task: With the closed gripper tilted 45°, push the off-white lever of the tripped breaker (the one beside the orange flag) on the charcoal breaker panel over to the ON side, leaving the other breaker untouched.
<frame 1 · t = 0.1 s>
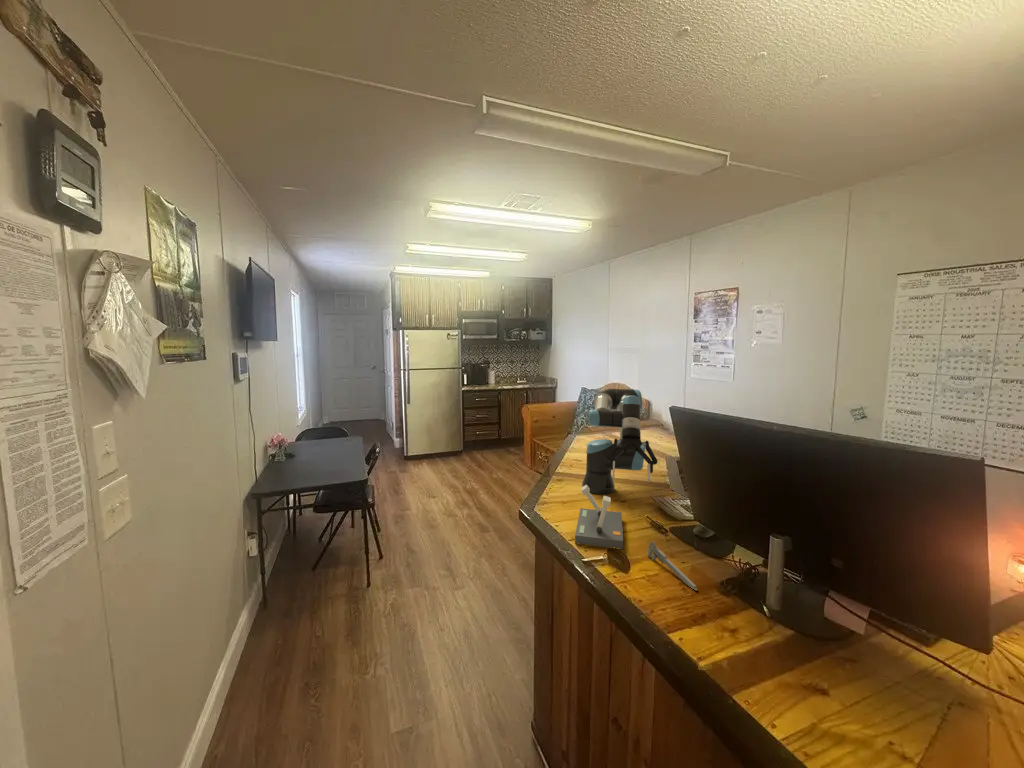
hand: (631, 479, 162), 15 cm above the worktop, tool tilted 35°, fingers open, 13 cm apart
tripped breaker: (602, 514, 143), point 9 cm above the worktop, hinge at -12.0°
caliper: (671, 574, 124), on the worktop
panel: (599, 530, 151), on the worktop
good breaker: (592, 500, 158), point 8 cm above the worktop, hinge at 35.0°
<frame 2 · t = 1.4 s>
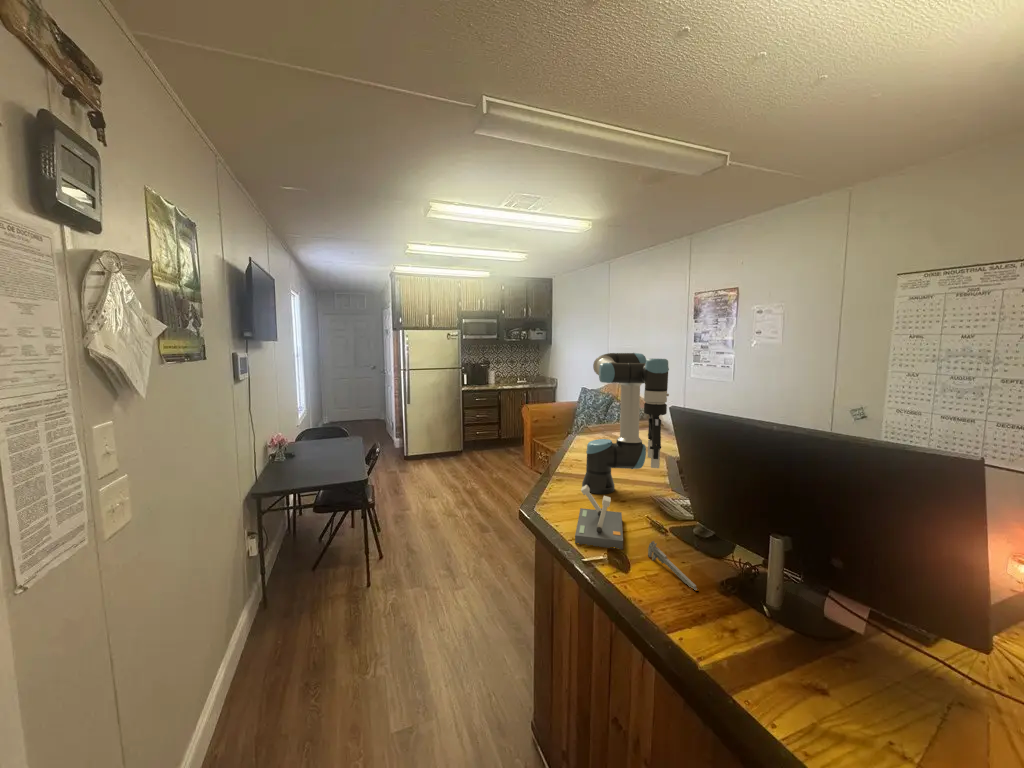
hand: (653, 462, 144), 27 cm above the worktop, tool pointing down, fingers open, 13 cm apart
nothing on the worktop moved.
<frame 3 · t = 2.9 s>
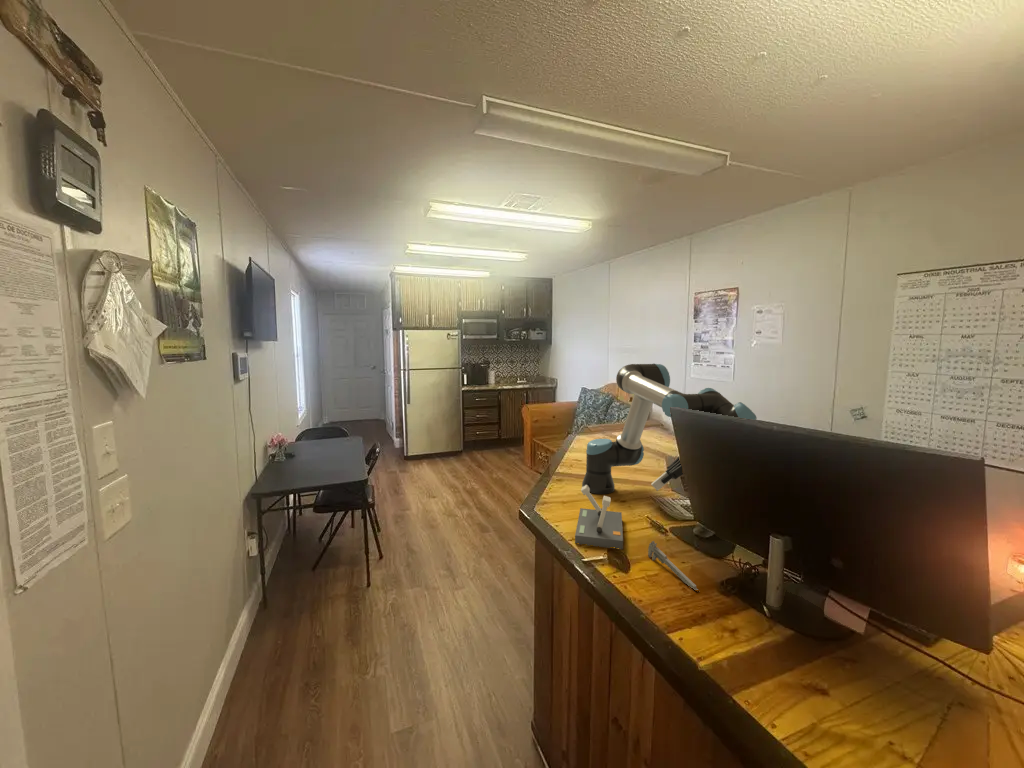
hand: (654, 487, 138), 21 cm above the worktop, tool tilted 45°, fingers closed
nothing on the worktop moved.
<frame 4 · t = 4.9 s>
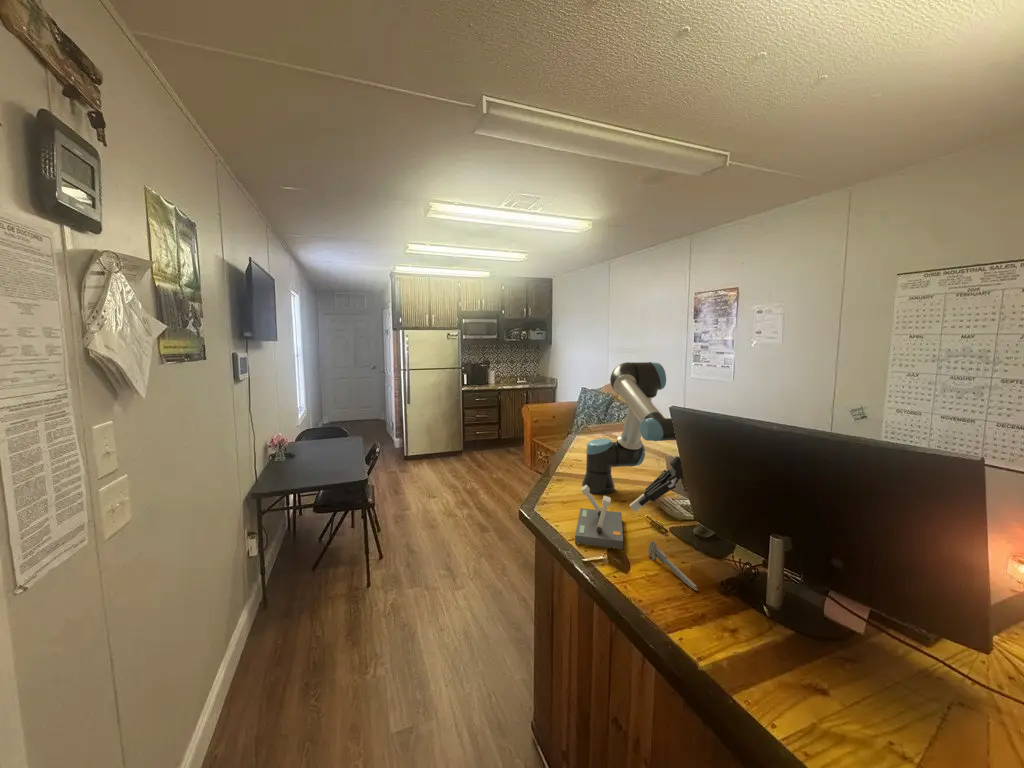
hand: (632, 508, 139), 13 cm above the worktop, tool tilted 45°, fingers closed
nothing on the worktop moved.
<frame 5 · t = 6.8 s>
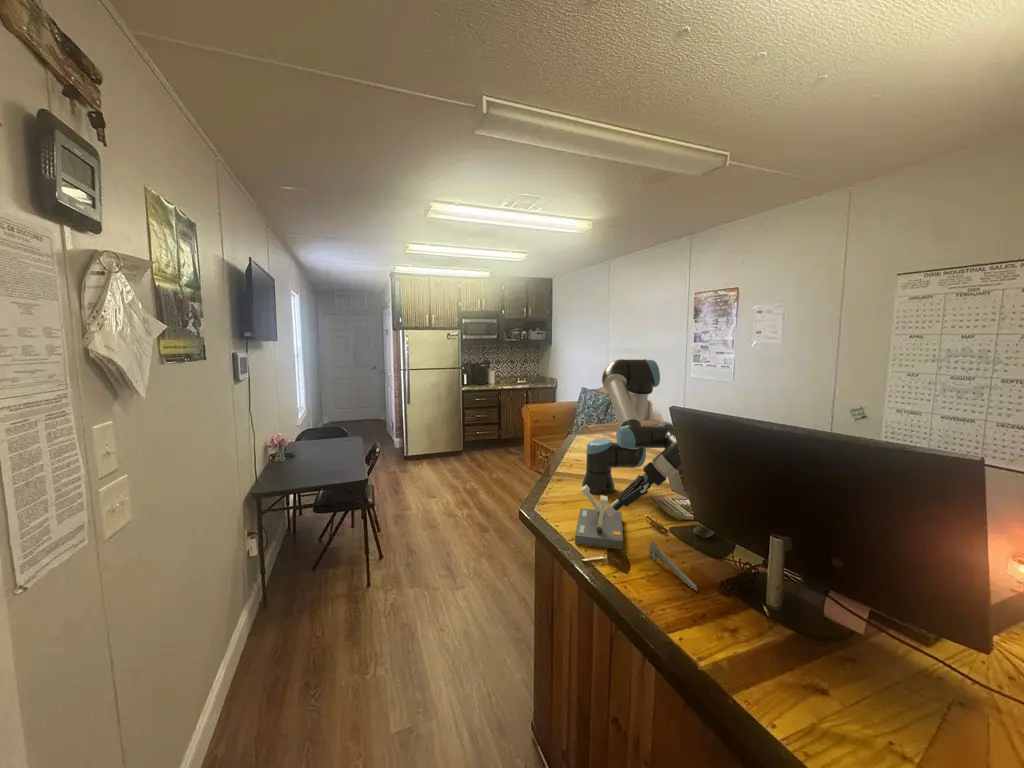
hand: (607, 513, 142), 10 cm above the worktop, tool tilted 45°, fingers closed
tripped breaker: (601, 514, 143), point 9 cm above the worktop, hinge at -6.6°, touching gripper
everything else where it was.
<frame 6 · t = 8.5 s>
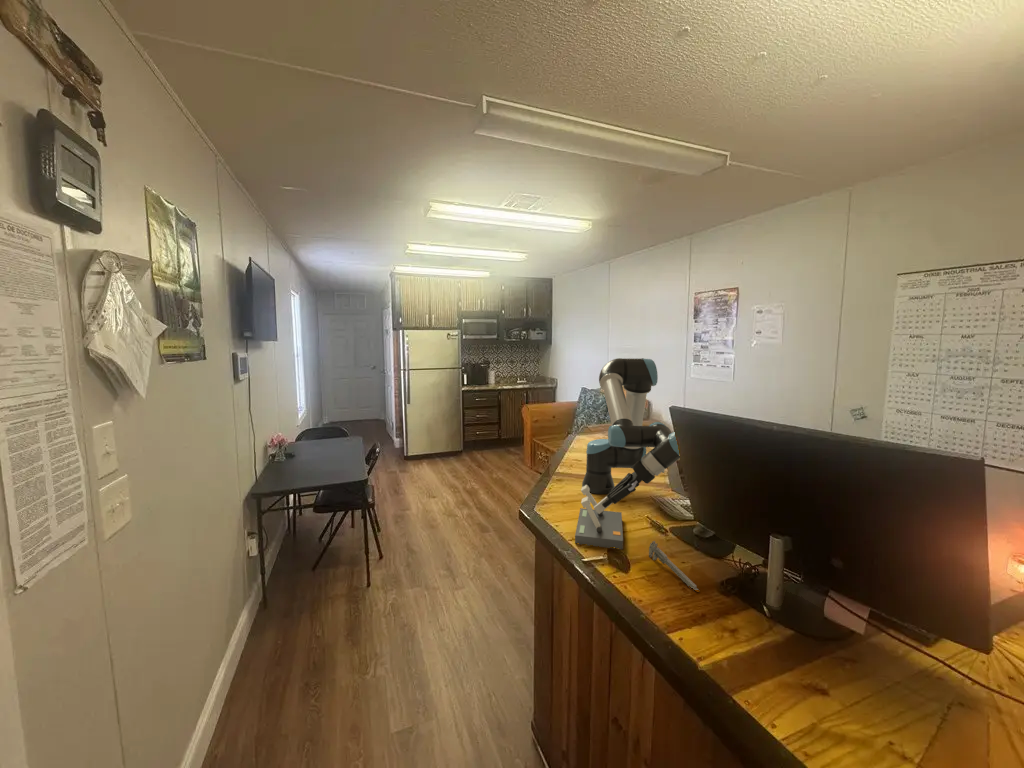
hand: (596, 510, 143), 11 cm above the worktop, tool tilted 45°, fingers closed
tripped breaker: (592, 515, 144), point 9 cm above the worktop, hinge at 28.4°
everything else where it was.
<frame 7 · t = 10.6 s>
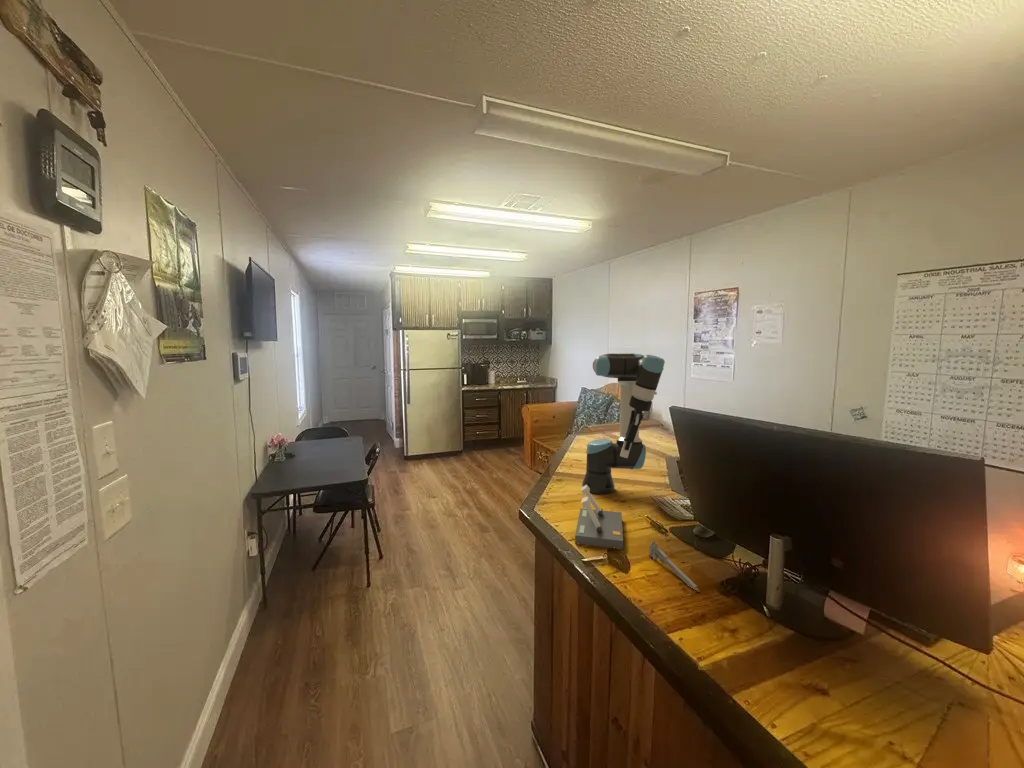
hand: (623, 456, 153), 27 cm above the worktop, tool tilted 15°, fingers closed
nothing on the worktop moved.
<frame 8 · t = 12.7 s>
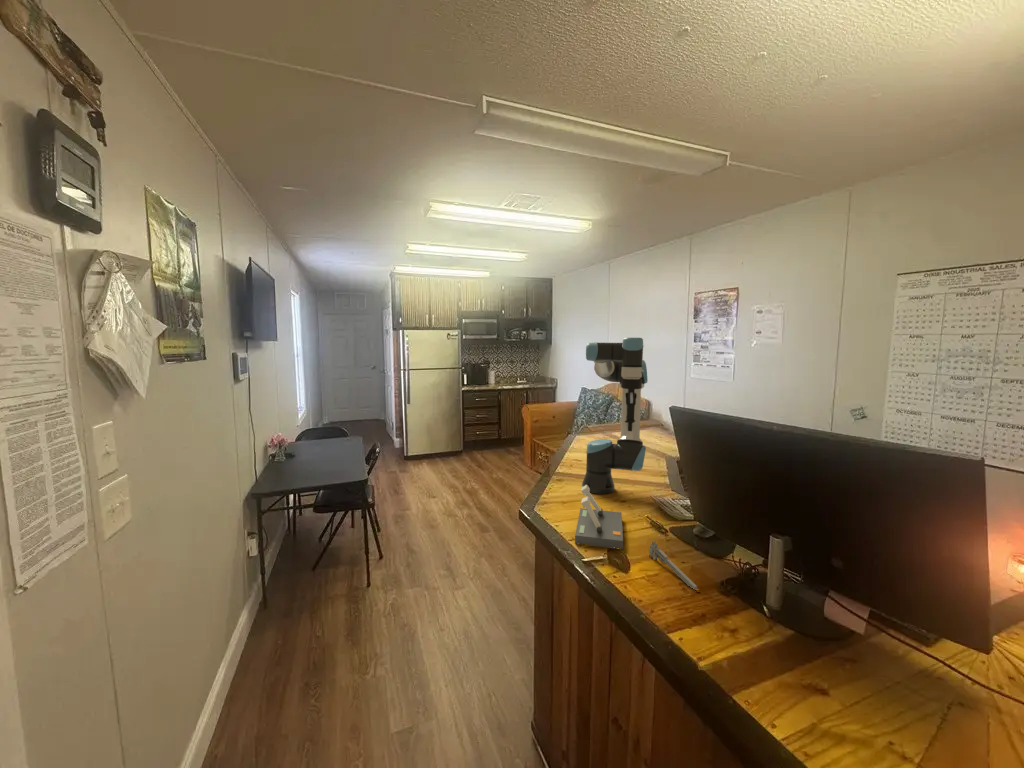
hand: (629, 438, 158), 32 cm above the worktop, tool pointing down, fingers closed
nothing on the worktop moved.
at the end: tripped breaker at +28° (first picture: -12°); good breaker at +35° (first picture: +35°) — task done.
